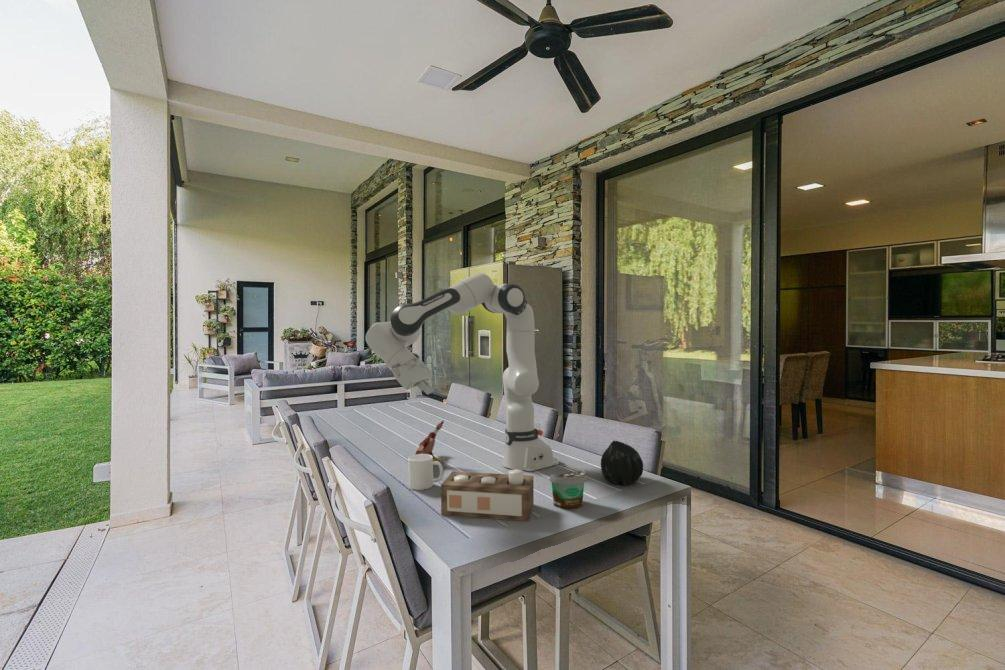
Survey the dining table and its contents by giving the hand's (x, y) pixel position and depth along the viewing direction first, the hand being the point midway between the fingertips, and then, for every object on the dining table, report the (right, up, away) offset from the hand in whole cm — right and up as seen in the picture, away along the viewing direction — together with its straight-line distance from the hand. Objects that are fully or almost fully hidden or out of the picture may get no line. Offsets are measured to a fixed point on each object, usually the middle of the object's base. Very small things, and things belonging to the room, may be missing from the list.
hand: (430, 392), depth 153 cm
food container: (+45, -34, -12) cm, 58 cm away
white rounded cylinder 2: (+28, -27, -15) cm, 42 cm away
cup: (-2, -33, +6) cm, 34 cm away
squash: (+66, -33, +10) cm, 74 cm away
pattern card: (+19, -32, -20) cm, 42 cm away
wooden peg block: (+20, -34, -14) cm, 41 cm away
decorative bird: (-6, -33, +31) cm, 46 cm away
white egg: (+11, -29, -12) cm, 34 cm away
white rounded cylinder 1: (+20, -29, -14) cm, 38 cm away
